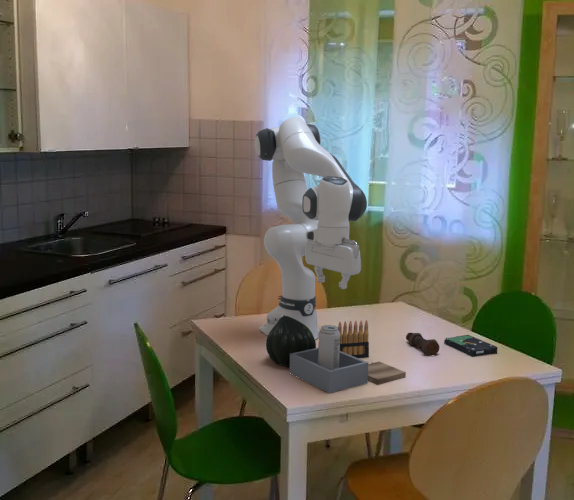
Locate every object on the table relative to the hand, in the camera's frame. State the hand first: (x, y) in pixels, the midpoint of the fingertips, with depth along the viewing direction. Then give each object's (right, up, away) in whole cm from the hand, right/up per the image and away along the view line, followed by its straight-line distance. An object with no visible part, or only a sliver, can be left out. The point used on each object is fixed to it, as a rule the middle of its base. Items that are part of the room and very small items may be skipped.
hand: (331, 285), depth 189 cm
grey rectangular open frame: (-1, -27, +5) cm, 27 cm away
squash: (-12, -25, +17) cm, 32 cm away
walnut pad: (+14, -27, +8) cm, 31 cm away
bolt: (+31, -23, +34) cm, 52 cm away
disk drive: (+48, -23, +35) cm, 64 cm away
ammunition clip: (+8, -24, +23) cm, 34 cm away
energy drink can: (-1, -27, +5) cm, 27 cm away
